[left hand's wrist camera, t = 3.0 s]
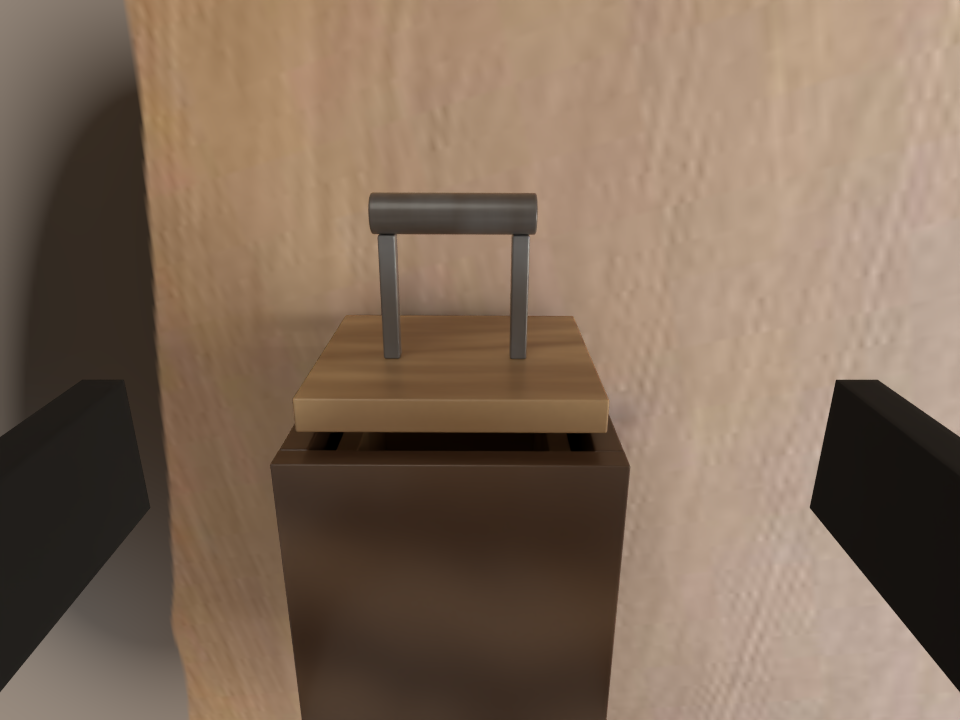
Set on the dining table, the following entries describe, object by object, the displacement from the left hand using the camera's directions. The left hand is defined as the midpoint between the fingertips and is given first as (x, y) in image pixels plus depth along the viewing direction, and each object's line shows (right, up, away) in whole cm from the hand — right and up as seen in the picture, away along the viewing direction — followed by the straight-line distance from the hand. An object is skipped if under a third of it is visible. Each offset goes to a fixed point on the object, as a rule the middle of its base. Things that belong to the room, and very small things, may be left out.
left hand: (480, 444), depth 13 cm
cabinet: (-1, -5, +21) cm, 22 cm away
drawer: (-1, -1, +18) cm, 19 cm away
